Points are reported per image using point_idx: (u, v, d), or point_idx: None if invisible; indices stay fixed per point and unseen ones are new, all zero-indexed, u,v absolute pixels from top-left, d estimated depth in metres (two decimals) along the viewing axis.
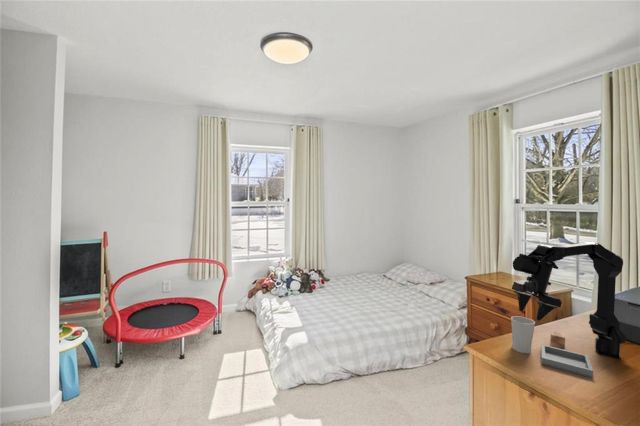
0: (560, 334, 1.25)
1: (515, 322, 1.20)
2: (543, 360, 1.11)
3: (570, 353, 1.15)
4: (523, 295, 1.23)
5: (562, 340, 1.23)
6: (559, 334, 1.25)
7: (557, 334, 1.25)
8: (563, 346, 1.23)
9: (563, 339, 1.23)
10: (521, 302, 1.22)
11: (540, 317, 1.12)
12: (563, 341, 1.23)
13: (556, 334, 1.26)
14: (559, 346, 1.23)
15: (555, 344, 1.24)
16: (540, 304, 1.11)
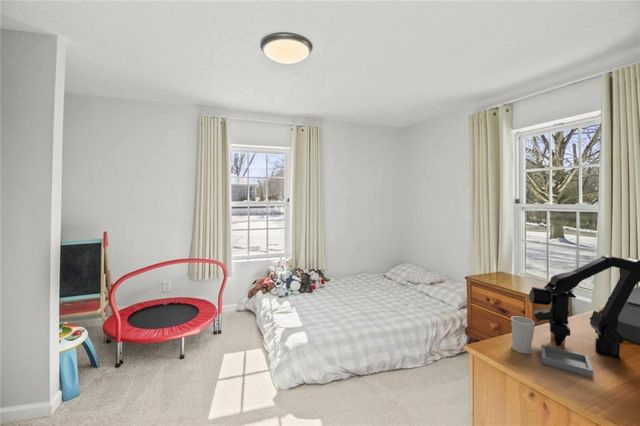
0: None
1: (515, 322, 1.20)
2: (543, 360, 1.11)
3: (570, 353, 1.15)
4: None
5: None
6: None
7: None
8: (563, 346, 1.23)
9: None
10: None
11: (558, 343, 1.23)
12: (563, 341, 1.23)
13: None
14: (559, 346, 1.23)
15: (555, 344, 1.24)
16: None
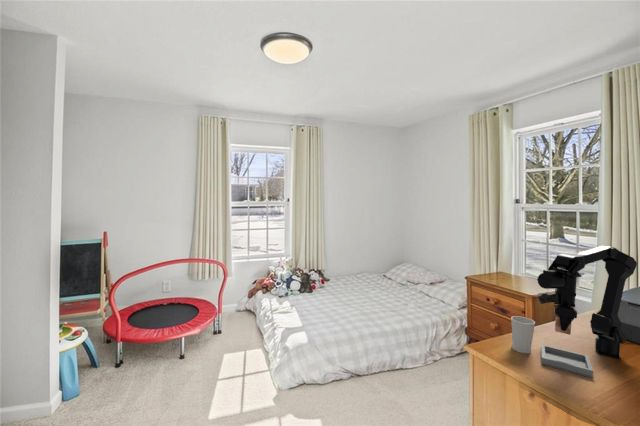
0: None
1: (515, 322, 1.20)
2: (543, 360, 1.11)
3: (570, 353, 1.15)
4: None
5: None
6: None
7: None
8: (569, 330, 1.13)
9: None
10: None
11: (563, 327, 1.13)
12: (569, 325, 1.13)
13: None
14: None
15: (560, 328, 1.14)
16: None
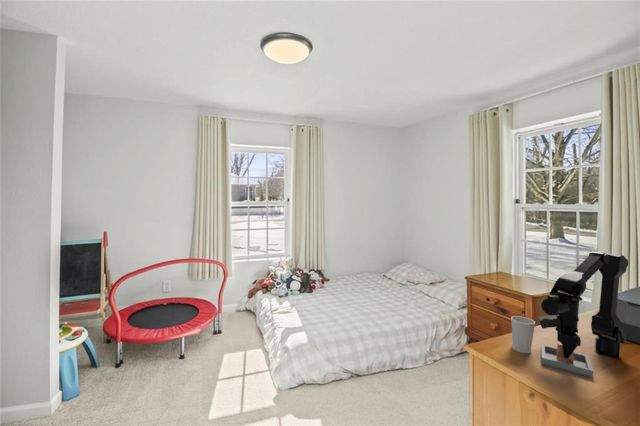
0: None
1: (515, 322, 1.20)
2: (543, 360, 1.11)
3: None
4: None
5: None
6: None
7: None
8: (571, 362, 1.09)
9: (571, 354, 1.09)
10: None
11: (566, 354, 1.09)
12: (571, 356, 1.09)
13: None
14: (567, 361, 1.10)
15: (563, 359, 1.11)
16: None
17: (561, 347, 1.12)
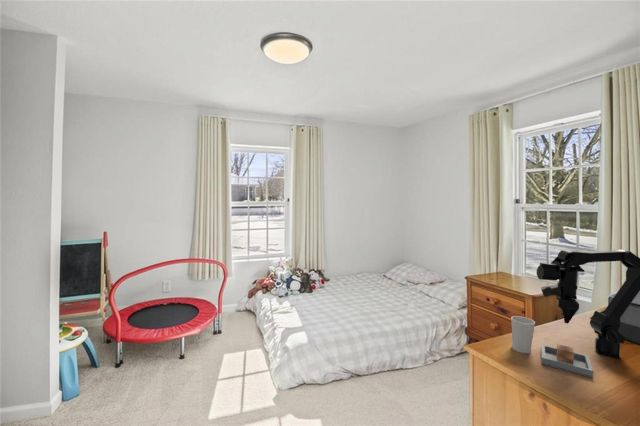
0: (568, 348, 1.12)
1: (515, 322, 1.20)
2: (543, 360, 1.11)
3: None
4: None
5: (570, 354, 1.09)
6: (567, 348, 1.12)
7: (564, 348, 1.12)
8: (571, 362, 1.09)
9: (571, 354, 1.09)
10: None
11: (566, 320, 1.19)
12: (571, 356, 1.09)
13: (563, 347, 1.12)
14: (567, 361, 1.10)
15: (563, 359, 1.11)
16: (560, 307, 1.19)
17: (561, 347, 1.12)
